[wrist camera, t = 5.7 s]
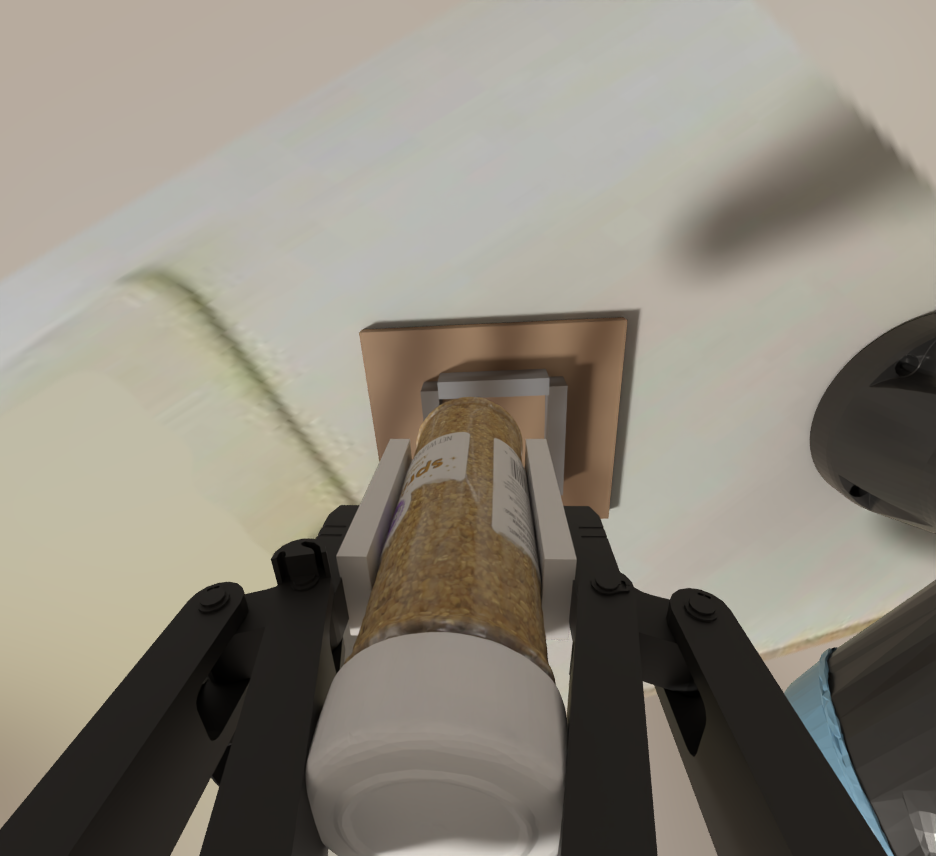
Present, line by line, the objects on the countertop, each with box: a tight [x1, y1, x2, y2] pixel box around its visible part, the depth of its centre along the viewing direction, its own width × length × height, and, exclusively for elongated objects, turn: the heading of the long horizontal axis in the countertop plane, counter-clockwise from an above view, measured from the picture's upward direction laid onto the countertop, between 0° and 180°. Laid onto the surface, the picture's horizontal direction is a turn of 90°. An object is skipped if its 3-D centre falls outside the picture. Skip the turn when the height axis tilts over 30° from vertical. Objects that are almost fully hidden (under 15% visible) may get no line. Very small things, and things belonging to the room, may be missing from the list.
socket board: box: [359, 317, 627, 519], centre depth 33 cm, size 18×16×3 cm
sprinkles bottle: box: [305, 397, 568, 856], centre depth 13 cm, size 5×5×13 cm
